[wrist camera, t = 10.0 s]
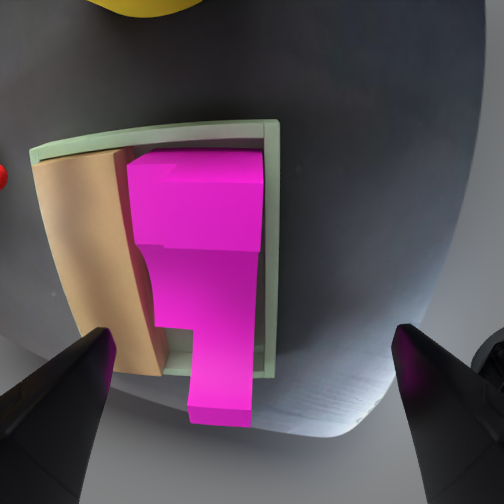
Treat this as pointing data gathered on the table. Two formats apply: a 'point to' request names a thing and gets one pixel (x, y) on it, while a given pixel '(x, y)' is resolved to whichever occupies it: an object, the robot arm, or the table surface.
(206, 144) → the frame
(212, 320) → the toy block
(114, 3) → the yellow hollow cylinder
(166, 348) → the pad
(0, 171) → the molecule model
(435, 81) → the table surface
